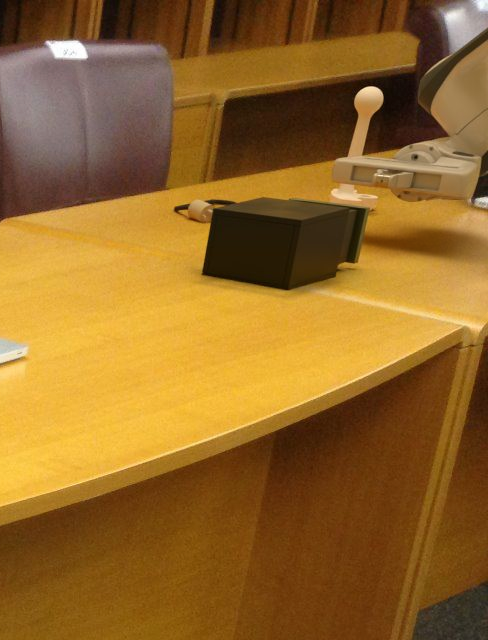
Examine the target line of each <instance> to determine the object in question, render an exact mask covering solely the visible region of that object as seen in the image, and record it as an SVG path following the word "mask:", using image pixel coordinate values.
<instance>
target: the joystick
mask: <svg viewBox="0 0 488 640" xmlns="http://www.w3.org/2000/svg"><path fill="white" fill-rule="evenodd" d="M383 103H384V94H383V91H382V90H381V89H380V88H379V87H376V86H366V87H364V88H362V89H360V90H359V91H358V92H357V94H356V95H355V97H354V102H353V105H354V108H355V110H356V112H357V121H356V125H355V129H354V132H353V135H352V139H351V142H350V147H349V151H348V153H347V157H353V156H363V153H364V147H365V143H366V139H367V136H368V135H367V134H368V130H369V126H370V121H371V119H372V117H373V115H374V114H376V112H377V111H378V110H380V109H381V107H382V106H383ZM355 187H356V185H350V184H342V183H339V187H338V188H334V189H332V190H331V192H330V195H329V200H328V202H331V203H339V204H347V205H355V206H363V207H370V210H369V212H371V211H373V209H376V207H377V204H378V200H379V196H377V195H374V194H368V193H358V190H357V189H355Z"/></svg>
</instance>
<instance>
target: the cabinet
mask: <svg viewBox="0 0 488 640" xmlns="http://www.w3.org/2000/svg"><path fill="white" fill-rule="evenodd" d="M349 211H350V208H347V207H339V206H331V205H323V204H315V203H307V202H299V201H291V200H289V199H284V198H283V199H282V198H274V197H266V196H262V197H258V198H253V199H249V200H245V201H239V202H236V203H235V204H231V205H222V206H218V207H215V208H213V212H212V219H211V221H210V225H209V230H208V235H207V242H206V247H205V253H204V260H203V265H202V271H201V276H204V277H205V276H206V277H210V278H211V277H212V278H217V279H222V280H227V281H233V282H237V283H238V282H240V283H244V284H248V285H249V284H251V285H255V286H259V287H265V288H272V289H276V290H281V291H291V290H295V289H298V288H302V287H305V286H308V285H309V286H310V285H312V284H316V283H319V282H322V281H326V280H330V279H333V278H336V276H337V271H338V267H339V264H338V262H339V258H340V253H341V248H342V244H343V239H344V234H345V230H346V225H347V220H348V216H349Z"/></svg>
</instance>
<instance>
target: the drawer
mask: <svg viewBox="0 0 488 640" xmlns="http://www.w3.org/2000/svg"><path fill="white" fill-rule="evenodd" d="M288 200H291V201H299V202H307V203H315V204H323V205H331V206H339V207H347V208H350V211H349V216H348V220H347V225H346V230H345V234H344V239H343V244H342V248H341V253H340V258H339V262H338V265H341V264H345V263H347V264H352V265H353V264H357V263H359V259H360V255H361V250H362V246H363V241H364V237H365V232H366V227H367V223H368V220H369V214H370V211H369V210H370V207H363V206H355V205H347V204H339V203H331V202H329V201H323V200H313V199H306V198H297V197H290V198H288Z"/></svg>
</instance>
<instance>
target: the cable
mask: <svg viewBox="0 0 488 640" xmlns="http://www.w3.org/2000/svg"><path fill="white" fill-rule="evenodd" d="M235 203H237V202H236V201H233V200H228V199H227V200H226V199H213V198H212V199H207V200H202V199H198V198H197V199H195V200H193V201H191V203H186V204H180V205H175V206H174V208H173V210H174V211H176V212H177V211H187V216H188V217H189V218H191V219H193V220H195V221H197V222H200V223H211V219H212V212H213V208H216V207H215V206H214V205H224V206H226V205H231V204H235Z"/></svg>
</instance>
